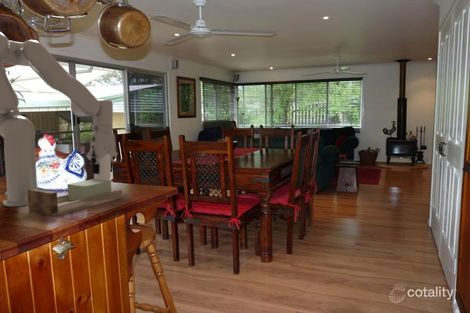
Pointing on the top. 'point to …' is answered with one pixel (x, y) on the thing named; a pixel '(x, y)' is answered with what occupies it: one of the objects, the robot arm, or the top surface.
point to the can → (104, 168)
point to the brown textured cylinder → (88, 161)
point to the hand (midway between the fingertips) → (102, 172)
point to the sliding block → (88, 189)
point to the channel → (63, 202)
